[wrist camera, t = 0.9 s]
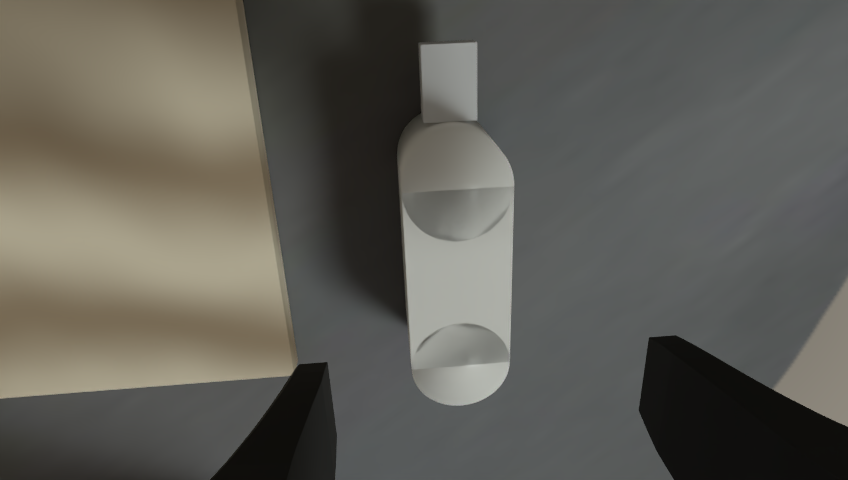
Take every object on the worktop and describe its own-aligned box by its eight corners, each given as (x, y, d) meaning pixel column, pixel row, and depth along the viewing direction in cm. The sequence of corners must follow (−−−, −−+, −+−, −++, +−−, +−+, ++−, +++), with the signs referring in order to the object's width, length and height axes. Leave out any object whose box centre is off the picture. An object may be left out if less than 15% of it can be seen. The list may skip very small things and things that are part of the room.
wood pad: (297, 359, 23) (294, 375, 22) (-126, 392, 22) (-149, 410, 21) (213, -195, 15) (202, -208, 14) (-426, -180, 14) (-480, -192, 14)
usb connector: (487, 336, 23) (508, 401, 19) (407, 342, 23) (413, 409, 19) (489, 35, 18) (517, 45, 15) (390, 40, 18) (393, 51, 14)
